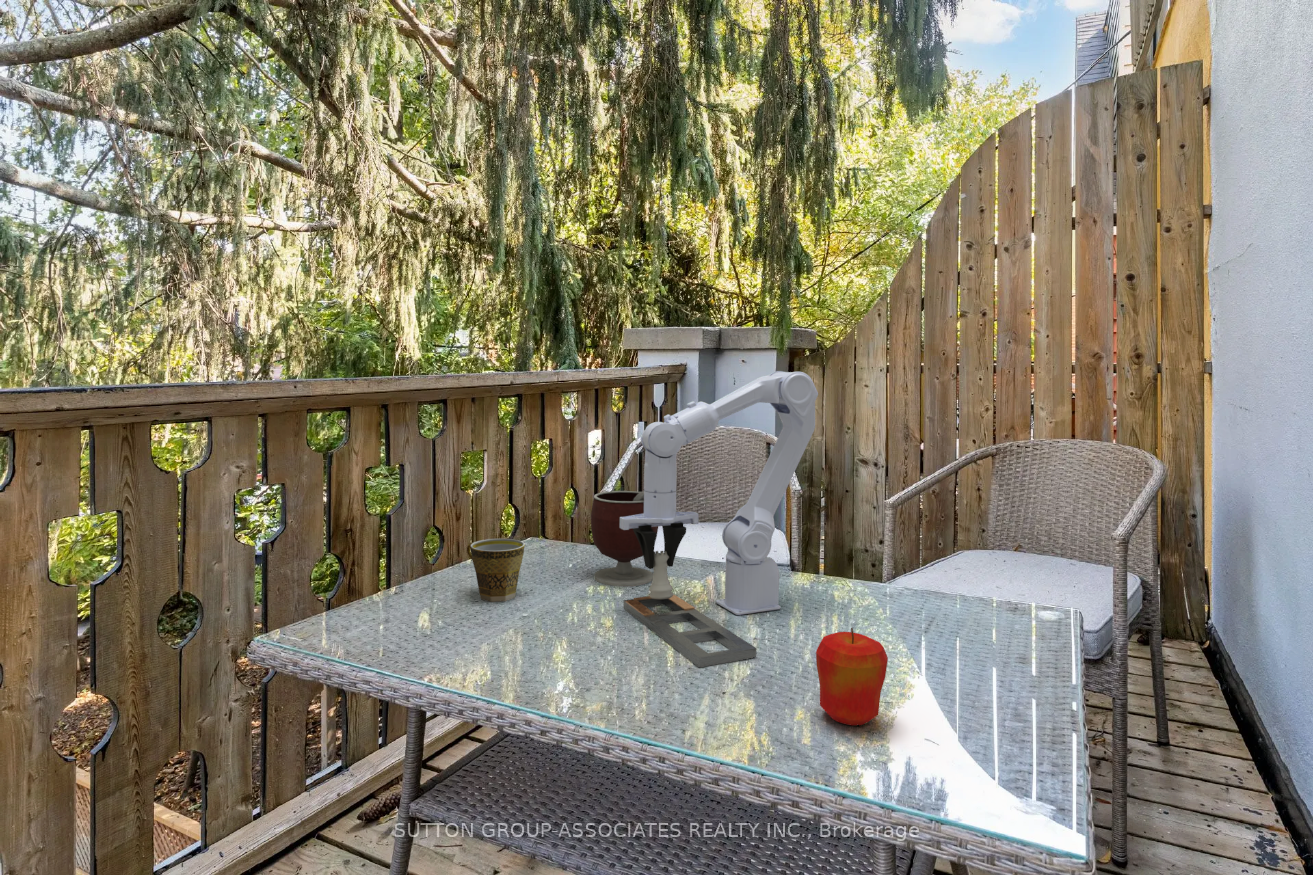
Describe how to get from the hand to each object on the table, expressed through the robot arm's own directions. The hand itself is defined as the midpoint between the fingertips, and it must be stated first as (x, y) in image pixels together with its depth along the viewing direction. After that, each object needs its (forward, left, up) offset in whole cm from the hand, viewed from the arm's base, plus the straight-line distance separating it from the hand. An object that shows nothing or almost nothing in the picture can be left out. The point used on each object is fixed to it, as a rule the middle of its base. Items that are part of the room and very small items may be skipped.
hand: (658, 566), depth 134 cm
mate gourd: (-3, -22, -9) cm, 24 cm away
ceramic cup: (+25, -21, -9) cm, 34 cm away
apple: (-5, +46, -9) cm, 47 cm away
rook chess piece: (0, +1, -6) cm, 6 cm away
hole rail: (0, +10, -8) cm, 13 cm away
